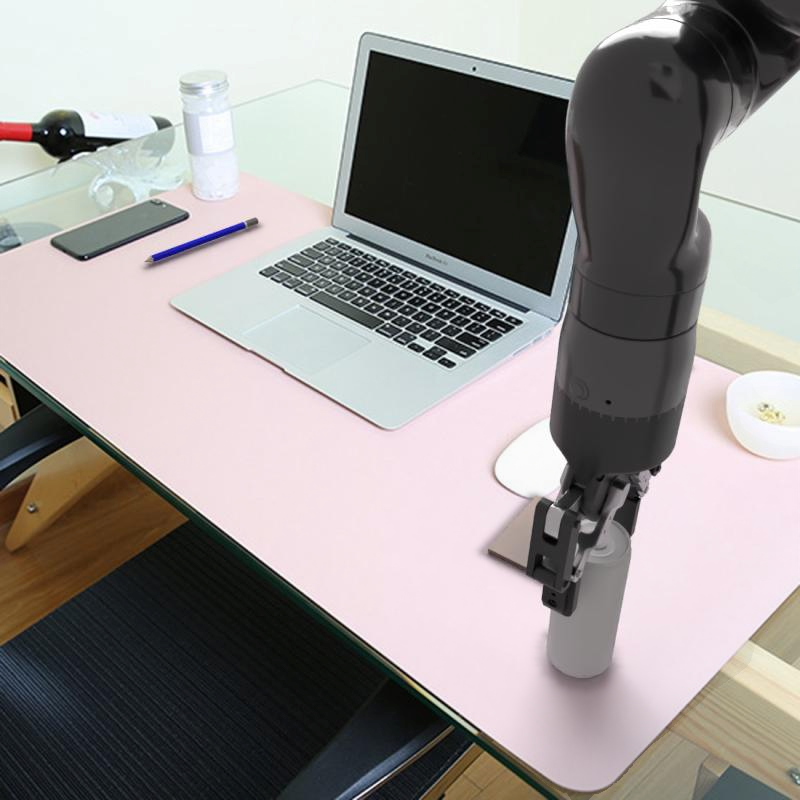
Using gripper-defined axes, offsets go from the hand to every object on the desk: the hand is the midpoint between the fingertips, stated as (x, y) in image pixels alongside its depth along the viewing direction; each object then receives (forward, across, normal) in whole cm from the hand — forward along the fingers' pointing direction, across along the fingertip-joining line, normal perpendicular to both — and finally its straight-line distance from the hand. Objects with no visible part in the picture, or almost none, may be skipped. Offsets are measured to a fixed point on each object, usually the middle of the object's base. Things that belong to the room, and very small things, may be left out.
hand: (589, 568), depth 65 cm
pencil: (+10, +30, +70) cm, 77 cm away
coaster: (+9, +9, +7) cm, 14 cm away
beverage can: (+9, 0, 0) cm, 9 cm away
